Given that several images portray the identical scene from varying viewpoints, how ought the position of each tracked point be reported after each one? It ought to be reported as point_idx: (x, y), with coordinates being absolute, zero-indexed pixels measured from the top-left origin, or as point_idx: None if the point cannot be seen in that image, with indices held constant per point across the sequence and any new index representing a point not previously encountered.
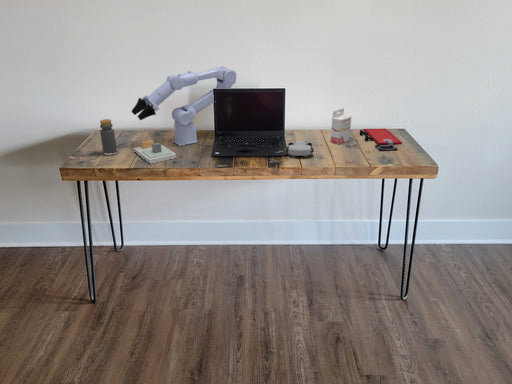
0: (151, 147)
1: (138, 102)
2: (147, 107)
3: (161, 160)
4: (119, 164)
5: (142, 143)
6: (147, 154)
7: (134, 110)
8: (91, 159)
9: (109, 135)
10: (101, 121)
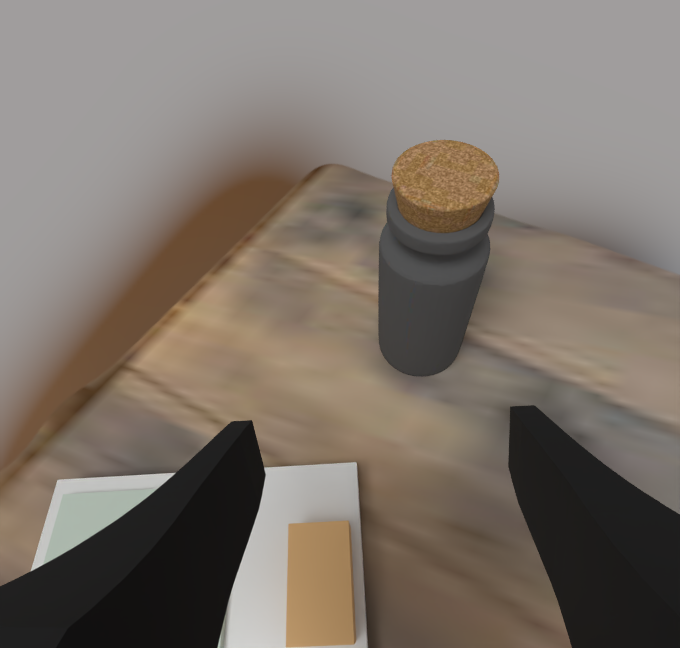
0: (286, 603)
1: (635, 541)
2: (15, 581)
3: None
4: (215, 339)
5: (310, 523)
6: (132, 494)
7: (526, 451)
8: (375, 249)
9: (379, 261)
10: (434, 145)
